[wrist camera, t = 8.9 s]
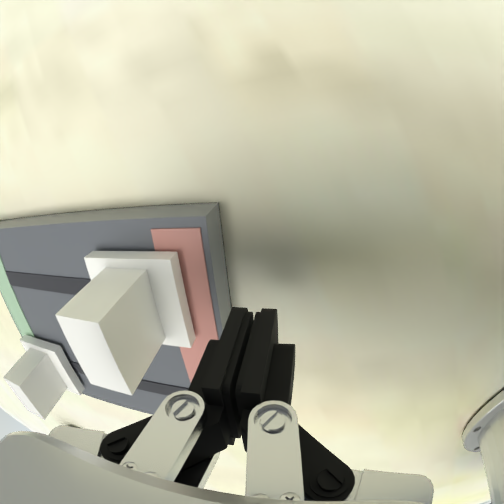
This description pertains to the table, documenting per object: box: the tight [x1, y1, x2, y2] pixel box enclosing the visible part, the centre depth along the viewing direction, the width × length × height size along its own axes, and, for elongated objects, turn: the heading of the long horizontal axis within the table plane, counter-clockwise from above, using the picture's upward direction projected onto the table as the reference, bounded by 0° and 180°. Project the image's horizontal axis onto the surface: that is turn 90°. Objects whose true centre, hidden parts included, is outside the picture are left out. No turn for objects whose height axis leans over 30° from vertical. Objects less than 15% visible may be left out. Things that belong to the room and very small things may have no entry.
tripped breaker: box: [55, 251, 196, 395], centre depth 13 cm, size 5×5×5 cm
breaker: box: [3, 335, 85, 420], centre depth 18 cm, size 5×5×5 cm
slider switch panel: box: [0, 203, 232, 415], centre depth 19 cm, size 20×16×2 cm
